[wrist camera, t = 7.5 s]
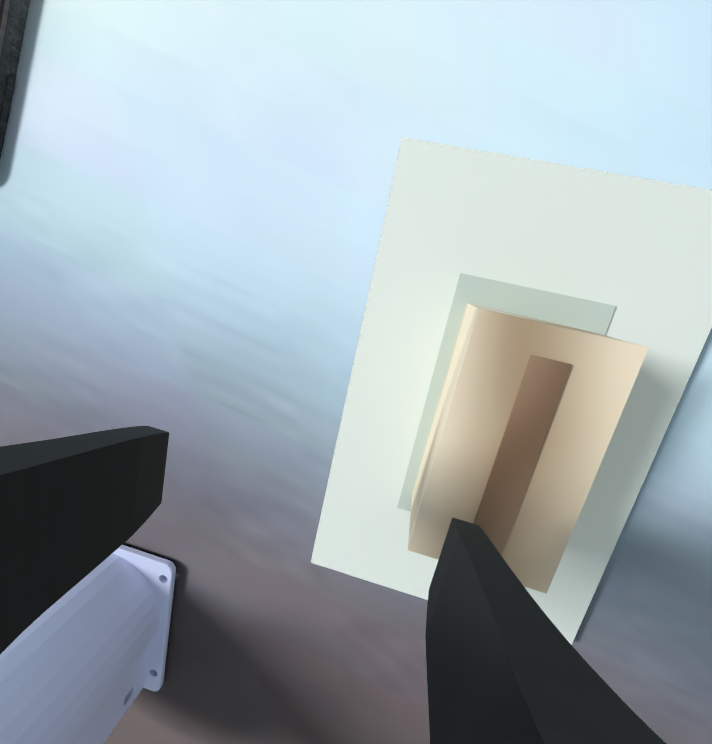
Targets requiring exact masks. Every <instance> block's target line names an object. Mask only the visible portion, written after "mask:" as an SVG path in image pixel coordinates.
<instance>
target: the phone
mask: <svg viewBox="0 0 712 744" xmlns="http://www.w3.org/2000/svg"><path fill="white" fill-rule="evenodd" d="M29 3H30V0H0V158H1V152H2V147H3V141H4V136H5V131H6V125H7V120H8V115H9V109H10V104H11V99H12V93H13V88H14V83H15V77H16V72H17V67H18V61H19V56H20V51H21V45H22V40H23V35H24V29H25V24H26V19H27V13H28V8H29Z"/></svg>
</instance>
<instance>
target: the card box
mask: <svg viewBox="0 0 712 744" xmlns="http://www.w3.org/2000/svg"><path fill="white" fill-rule="evenodd" d="M648 349H649V348H648V347H645V346H641V345H638V344H634V343H630V342H627V341H623V340H620V339H616V338H612V337H609V336H605V335H602V334H598V333H595V332H590V331H586V330H582V329H577V328H573V327H568V326H564V325H560V324H555V323H551V322H547V321H542V320H538V319H533V318H529V317H525V316H520V315H516V314H512V313H507V312H503V311H498V310H494V309H490V308H485V307H481V306H477V305H472V304H468V303H467V305H466V309H465V312H464V316H463V319H462V323H461V326H460V329H459V333H458V336H457V340H456V343H455V347H454V350H453V354H452V357H451V361H450V364H449V368H448V371H447V375H446V378H445V382H444V385H443V389H442V392H441V396H440V399H439V403H438V406H437V410H436V413H435V417H434V420H433V424H432V427H431V431H430V434H429V438H428V441H427V444H426V448H425V451H424V455H423V458H422V462H421V465H420V469H419V472H418V476H417V479H416V483H415V486H414V490H413V493H412V503H411V515H410V527H409V540H408V550H409V551H412V552H415V553H418V554H422V555H425V556H428V557H431V558H434V559H438V560H439V557H440V554H441V551H442V547H443V544H444V541H445V538H446V535H447V532H448V529H449V526H450V523H451V520H452V517H453V518H456V519H460V520H463V521H466V522H470V523H473V524H476V525H479V526H480V527H481V528H482V530H483V531H484V532H485V534H486V535H487V536H488V538H489V539H490V540H491V542H492V543H493V545H494V546H495V547H496V549H497V550H498V552H499V553H500V554H501V556H502V557H503V559H504V560H505V561H506V563H507V564H508V566H509V567H510V568H511V570H512V571H513V572H514V574H515V575H516V576H517V578H518V579H519V581H520V582H521V583H522V585H523V586H524V587H527V588H530V589H533V590H536V591H540V592H543V593H546V594H547V592H548V589H549V587H550V585H551V582H552V580H553V577H554V575H555V573H556V570H557V568H558V565H559V563H560V560H561V558H562V556H563V553H564V551H565V548H566V546H567V544H568V541H569V539H570V536H571V534H572V532H573V529H574V527H575V524H576V522H577V520H578V517H579V515H580V512H581V510H582V507H583V505H584V503H585V500H586V498H587V495H588V493H589V491H590V488H591V486H592V483H593V481H594V479H595V476H596V474H597V471H598V469H599V467H600V464H601V462H602V459H603V457H604V455H605V452H606V450H607V447H608V445H609V442H610V440H611V438H612V435H613V433H614V430H615V428H616V426H617V423H618V421H619V418H620V416H621V414H622V411H623V409H624V406H625V404H626V402H627V399H628V397H629V394H630V392H631V390H632V387H633V385H634V382H635V380H636V377H637V375H638V373H639V370H640V368H641V365H642V363H643V361H644V358H645V356H646V353H647V351H648Z"/></svg>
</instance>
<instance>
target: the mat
mask: <svg viewBox="0 0 712 744" xmlns="http://www.w3.org/2000/svg"><path fill="white" fill-rule="evenodd" d="M467 303H468V304H472V305H477V306H481V307H485V308H490V309H494V310H498V311H503V312H507V313H512V314H516V315H520V316H525V317H529V318H533V319H538V320H542V321H547V322H551V323H555V324H560V325H564V326H568V327H573V328H577V329H582V330H586V331H590V332H595V333H598V334H602V335H605V336H609V337H612V338H616V339H620V340H623V341H627V342H630V343H634V344H638V345H641V346H645V347H648V348H649V349H648V351H647V353H646V356H645V358H644V361H643V363H642V365H641V368H640V370H639V373H638V375H637V377H636V380H635V382H634V385H633V387H632V390H631V392H630V394H629V397H628V399H627V402H626V404H625V406H624V409H623V411H622V414H621V416H620V418H619V421H618V423H617V426H616V428H615V430H614V433H613V435H612V438H611V440H610V442H609V445H608V447H607V450H606V452H605V455H604V457H603V459H602V462H601V464H600V467H599V469H598V471H597V474H596V476H595V479H594V481H593V483H592V486H591V488H590V491H589V493H588V495H587V498H586V500H585V503H584V505H583V507H582V510H581V512H580V515H579V517H578V520H577V522H576V524H575V527H574V529H573V532H572V534H571V536H570V539H569V541H568V544H567V546H566V548H565V551H564V553H563V556H562V558H561V560H560V563H559V565H558V568H557V570H556V573H555V575H554V577H553V580H552V582H551V585H550V587H549V589H548V592H547V594H546V593H543V592H540V591H536V590H533V589H530V588H527V587H525V589H526V590H527V591H528V592H529V594H530V595H531V596H532V598H533V599H534V600H535V601H536V603H537V604H538V605H539V607H540V608H541V609H542V610H543V612H544V613H545V614H546V615H547V617H548V618H549V619H550V620H551V621H552V623H553V624H554V625H555V626H556V627H557V629H558V630H559V631H560V632H561V633H562V635H563V636H564V637H565V638H566V639H567V641H568V642H569V643H570V644H571V645H572V643H573V641H574V638H575V636H576V634H577V631H578V629H579V627H580V625H581V622H582V620H583V618H584V616H585V613H586V611H587V609H588V607H589V604H590V602H591V600H592V597H593V595H594V593H595V591H596V588H597V586H598V584H599V582H600V579H601V577H602V575H603V573H604V570H605V568H606V566H607V564H608V561H609V559H610V557H611V554H612V552H613V550H614V548H615V545H616V543H617V541H618V539H619V536H620V534H621V532H622V530H623V527H624V525H625V523H626V520H627V518H628V516H629V514H630V511H631V509H632V507H633V505H634V502H635V500H636V498H637V496H638V493H639V491H640V489H641V487H642V484H643V482H644V480H645V477H646V475H647V473H648V471H649V468H650V466H651V464H652V462H653V459H654V457H655V455H656V453H657V450H658V448H659V446H660V443H661V441H662V439H663V437H664V434H665V432H666V430H667V428H668V425H669V423H670V421H671V419H672V416H673V414H674V412H675V410H676V407H677V405H678V403H679V400H680V398H681V396H682V394H683V391H684V389H685V387H686V385H687V382H688V380H689V378H690V376H691V373H692V371H693V369H694V367H695V364H696V362H697V360H698V357H699V355H700V353H701V351H702V348H703V346H704V344H705V342H706V339H707V337H708V335H709V333H710V330H711V328H712V190H709V189H703V188H697V187H691V186H685V185H679V184H674V183H668V182H662V181H656V180H650V179H644V178H638V177H632V176H626V175H621V174H615V173H609V172H603V171H597V170H591V169H585V168H579V167H574V166H568V165H562V164H556V163H550V162H544V161H538V160H532V159H527V158H521V157H515V156H509V155H503V154H497V153H491V152H485V151H480V150H474V149H468V148H462V147H456V146H450V145H444V144H438V143H433V142H427V141H421V140H415V139H409V138H403V137H402V140H401V144H400V149H399V154H398V158H397V163H396V168H395V172H394V177H393V182H392V186H391V191H390V196H389V200H388V205H387V210H386V214H385V219H384V224H383V228H382V233H381V238H380V242H379V247H378V252H377V256H376V261H375V265H374V270H373V275H372V279H371V284H370V289H369V293H368V298H367V303H366V307H365V312H364V317H363V321H362V326H361V331H360V335H359V340H358V345H357V349H356V354H355V359H354V363H353V368H352V373H351V377H350V382H349V387H348V391H347V396H346V401H345V405H344V410H343V414H342V419H341V424H340V428H339V433H338V438H337V442H336V447H335V452H334V456H333V461H332V466H331V470H330V475H329V480H328V484H327V489H326V494H325V498H324V503H323V508H322V512H321V517H320V522H319V526H318V531H317V536H316V540H315V545H314V550H313V554H312V559H311V563H314V564H317V565H320V566H323V567H326V568H330V569H333V570H336V571H339V572H342V573H345V574H348V575H351V576H355V577H358V578H361V579H364V580H367V581H370V582H373V583H376V584H379V585H383V586H386V587H389V588H392V589H395V590H398V591H401V592H404V593H407V594H411V595H414V596H417V597H420V598H423V599H426V600H428V593H429V588H430V584H431V581H432V578H433V575H434V572H435V569H436V566H437V563H438V559H434V558H431V557H428V556H425V555H422V554H418V553H415V552H412V551H409V550H408V540H409V527H410V515H411V503H412V493H413V490H414V486H415V483H416V479H417V476H418V472H419V469H420V465H421V462H422V458H423V455H424V451H425V448H426V444H427V441H428V438H429V434H430V431H431V427H432V424H433V420H434V417H435V413H436V410H437V406H438V403H439V399H440V396H441V392H442V389H443V385H444V382H445V378H446V375H447V371H448V368H449V364H450V361H451V357H452V354H453V350H454V347H455V343H456V340H457V336H458V333H459V329H460V326H461V323H462V319H463V316H464V312H465V309H466V305H467Z"/></svg>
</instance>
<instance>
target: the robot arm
mask: <svg viewBox="0 0 712 744" xmlns="http://www.w3.org/2000/svg"><path fill="white" fill-rule="evenodd" d="M168 438H169V432H166V431H163V430H160V429H156V428H153V427H149V426H137V427H127V428H120V429H113V430H106V431H100V432H93V433H87V434H81V435H75V436H69V437H63V438H57V439H51V440H44V441H37V442H30V443H23V444H16V445H9V446H2V447H0V744H103V743H104V742H105V741H106V739H107V738H108V736H109V735H110V734H111V732H112V731H113V729H114V728H115V727H116V725H117V724H118V722H119V721H120V720H121V718H122V717H123V715H124V714H125V713H126V711H127V710H128V708H129V707H130V706H131V704H132V703H133V701H134V700H135V699H136V697H137V696H138V694H139V693H140V691H141V690H142V689H143V688H145V689H148V690H151V691H158V690H159V689H160V688H161V686H162V685H163V681H164V672H165V663H166V654H167V645H168V636H169V627H170V619H171V610H172V601H173V592H174V583H175V574H176V567H175V565H174V563H173V562H171V561H169V560H167V559H164V558H161V557H158V556H155V555H152V554H149V553H146V552H143V551H140V550H137V549H134V548H131V547H128V546H125V545H122V544H123V543H125V542H126V541H127V540H128V539H129V538H130V537H131V536H132V535H133V534H134V533H135V532H136V531H137V530H138V529H139V528H140V527H141V526H142V524H143V523H144V522H145V521H146V520H147V519H148V518H149V517H150V515H151V514H152V513H153V512H154V511H155V510H156V508H157V507H158V506H159V505H160V504H161V500H162V492H163V483H164V474H165V465H166V456H167V447H168ZM165 576H166V577H165ZM426 659H427V682H428V703H429V725H430V744H666V743H665V742H664V741H663V740H662V739H661V738H660V737H659V736H658V735H657V734H655V733H654V732H653V731H652V730H651V729H650V728H649V727H648V726H647V725H646V724H645V723H644V722H643V721H642V720H641V719H640V718H639V717H638V716H637V715H636V714H635V713H634V712H633V711H632V710H631V709H630V708H629V707H628V706H627V705H626V704H625V703H624V702H623V701H622V700H621V698H620V697H619V696H618V695H617V694H616V693H615V692H614V691H613V690H612V689H611V688H610V687H609V686H608V685H607V684H606V683H605V681H604V680H603V679H602V678H601V677H600V676H599V675H598V674H597V673H596V672H595V671H594V670H593V669H592V668H591V667H590V666H589V664H588V663H587V662H586V661H585V660H584V659H583V658H582V657H581V656H580V654H579V653H578V652H577V651H576V650H575V649H574V648H573V646H572V645H571V644H570V643H569V642H568V641H567V639H566V638H565V637H564V636H563V635H562V633H561V632H560V631H559V630H558V629H557V627H556V626H555V625H554V624H553V623H552V621H551V620H550V619H549V618H548V617H547V615H546V614H545V613H544V612H543V610H542V609H541V608H540V607H539V605H538V604H537V603H536V601H535V600H534V599H533V598H532V596H531V595H530V594H529V592H528V591H527V590H526V589H525V587H524V586H523V585H522V583H521V582H520V581H519V579H518V578H517V576H516V575H515V574H514V572H513V571H512V570H511V568H510V567H509V566H508V564H507V563H506V561H505V560H504V559H503V557H502V556H501V554H500V553H499V552H498V550H497V549H496V547H495V546H494V545H493V543H492V542H491V540H490V539H489V538H488V536H487V535H486V534H485V532H484V531H483V530H482V528H481V527H480V526H479V525H476V524H473V523H470V522H466V521H463V520H460V519H456V518H453V517H452V520H451V523H450V526H449V529H448V532H447V535H446V538H445V541H444V544H443V547H442V551H441V554H440V557H439V560H438V563H437V566H436V569H435V572H434V575H433V578H432V581H431V584H430V588H429V593H428V606H427V621H426Z"/></svg>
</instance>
